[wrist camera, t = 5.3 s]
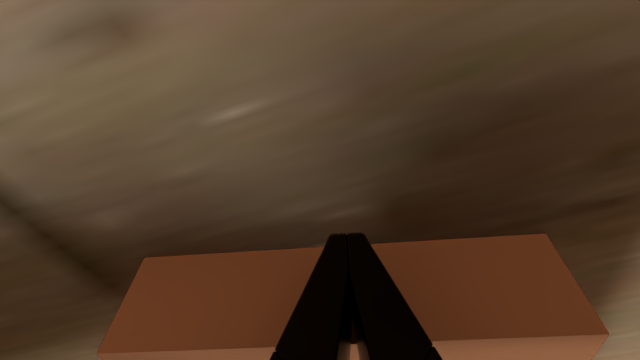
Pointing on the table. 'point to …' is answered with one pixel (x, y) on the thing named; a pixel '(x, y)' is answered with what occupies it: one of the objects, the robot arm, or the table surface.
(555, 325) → the block
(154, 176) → the table surface
